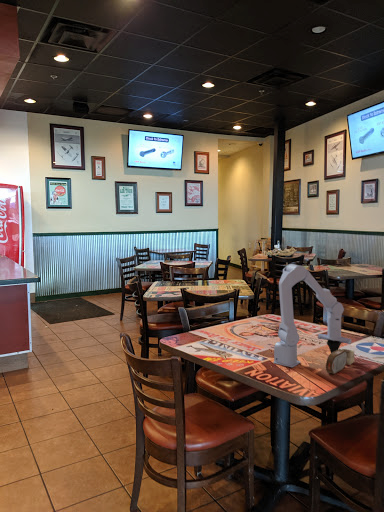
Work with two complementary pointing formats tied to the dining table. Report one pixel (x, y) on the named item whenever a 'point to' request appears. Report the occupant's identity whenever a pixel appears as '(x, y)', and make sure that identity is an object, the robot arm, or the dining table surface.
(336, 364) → the tin
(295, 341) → the robot arm
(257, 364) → the dining table surface
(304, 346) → the dining table surface
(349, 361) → the letter cube
